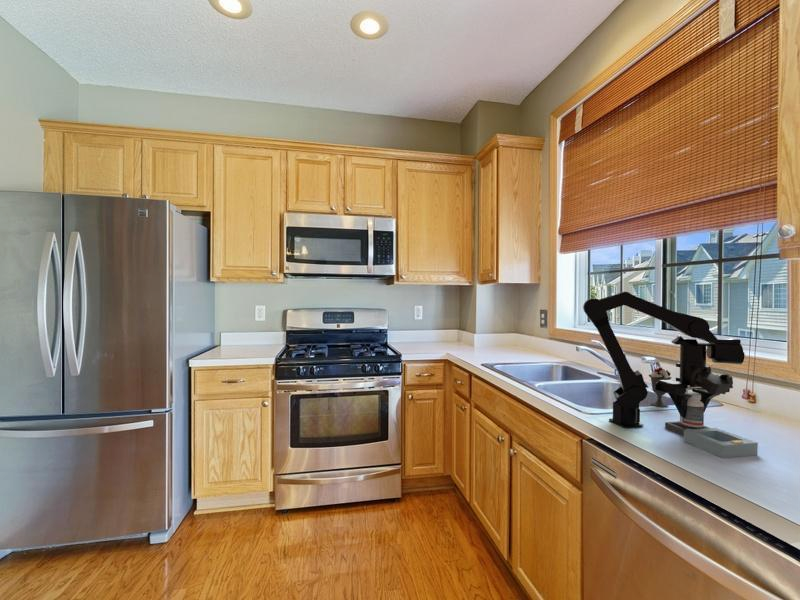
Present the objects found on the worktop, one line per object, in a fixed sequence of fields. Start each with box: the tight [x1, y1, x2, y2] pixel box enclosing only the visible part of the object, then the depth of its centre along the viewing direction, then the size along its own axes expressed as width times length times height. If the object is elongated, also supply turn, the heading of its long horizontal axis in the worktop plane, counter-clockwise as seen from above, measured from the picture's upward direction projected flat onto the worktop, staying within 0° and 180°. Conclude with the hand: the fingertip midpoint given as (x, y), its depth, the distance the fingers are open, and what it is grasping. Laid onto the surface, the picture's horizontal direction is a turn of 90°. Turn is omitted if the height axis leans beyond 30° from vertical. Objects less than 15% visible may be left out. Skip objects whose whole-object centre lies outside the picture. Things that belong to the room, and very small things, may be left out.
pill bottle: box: [679, 390, 705, 428], centre depth 103 cm, size 5×5×9 cm
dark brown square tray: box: [664, 420, 710, 436], centre depth 103 cm, size 8×8×2 cm
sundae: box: [648, 362, 673, 408], centre depth 128 cm, size 7×7×15 cm
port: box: [683, 427, 759, 459], centre depth 93 cm, size 10×10×3 cm
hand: (691, 416), depth 103 cm, fingers closed on pill bottle, 5 cm apart
